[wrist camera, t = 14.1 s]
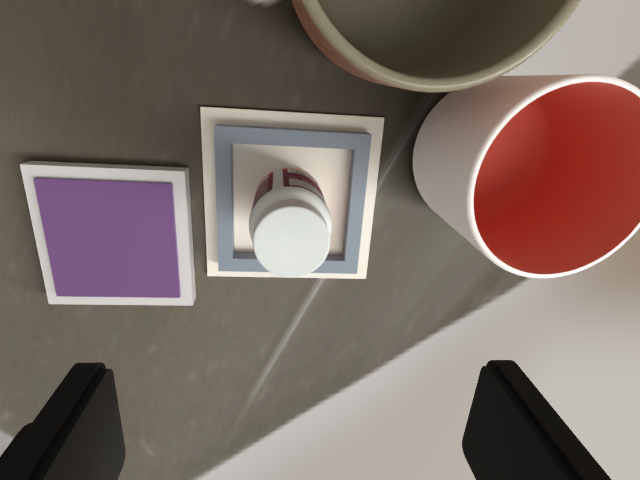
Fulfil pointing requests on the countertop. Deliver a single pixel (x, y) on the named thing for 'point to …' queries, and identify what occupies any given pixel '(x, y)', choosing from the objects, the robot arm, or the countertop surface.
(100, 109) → the countertop surface
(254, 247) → the pill bottle
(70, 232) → the ink pad
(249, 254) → the square tray
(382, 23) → the planter
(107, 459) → the robot arm
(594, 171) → the cup
